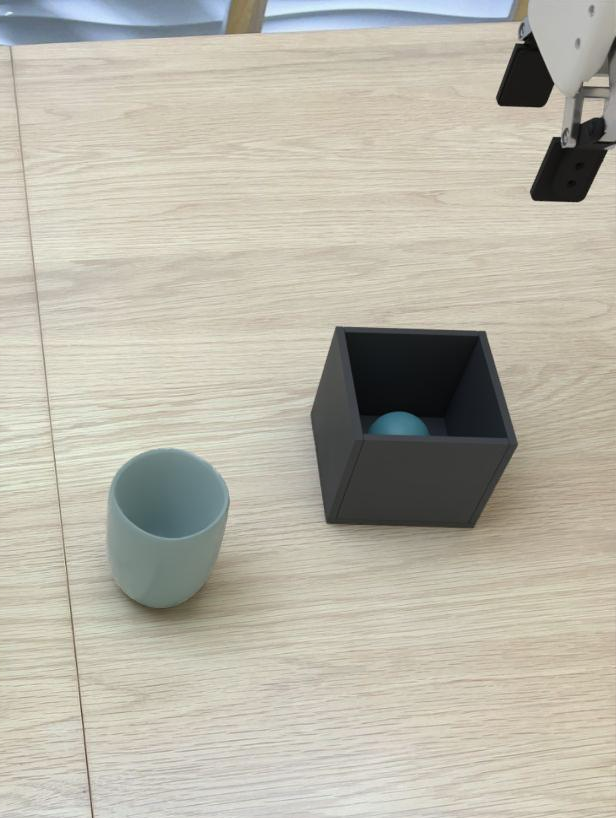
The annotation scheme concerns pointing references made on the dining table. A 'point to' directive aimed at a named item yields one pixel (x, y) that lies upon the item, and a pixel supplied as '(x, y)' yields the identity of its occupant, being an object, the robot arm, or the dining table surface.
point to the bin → (409, 454)
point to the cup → (165, 525)
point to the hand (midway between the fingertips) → (536, 149)
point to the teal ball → (399, 425)
